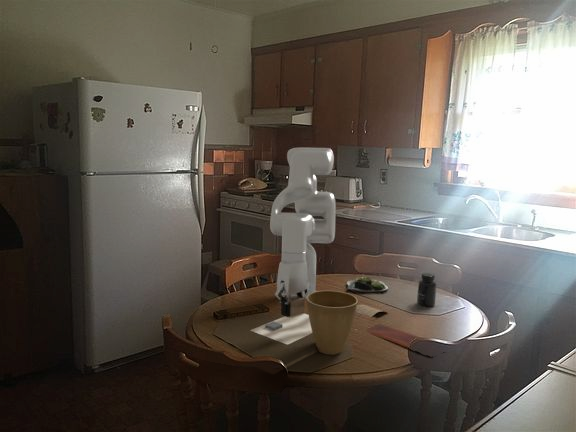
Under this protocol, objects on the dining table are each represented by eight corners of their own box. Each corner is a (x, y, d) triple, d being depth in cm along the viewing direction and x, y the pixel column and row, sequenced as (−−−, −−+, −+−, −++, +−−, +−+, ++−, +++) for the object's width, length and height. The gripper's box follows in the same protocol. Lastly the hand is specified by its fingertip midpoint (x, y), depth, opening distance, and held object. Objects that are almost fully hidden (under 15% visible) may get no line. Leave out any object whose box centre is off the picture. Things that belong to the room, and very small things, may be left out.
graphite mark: (265, 327, 153) (265, 324, 153) (273, 324, 156) (273, 321, 156) (274, 330, 150) (274, 327, 150) (282, 327, 153) (282, 324, 153)
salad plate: (340, 281, 212) (341, 271, 212) (379, 281, 213) (380, 271, 213) (348, 294, 193) (349, 284, 193) (391, 294, 194) (392, 283, 194)
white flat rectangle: (249, 333, 151) (249, 330, 150) (297, 314, 168) (297, 311, 168) (287, 348, 140) (287, 344, 140) (334, 326, 158) (334, 322, 158)
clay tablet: (367, 324, 162) (367, 316, 161) (344, 316, 169) (344, 309, 168) (390, 314, 172) (390, 307, 172) (367, 307, 179) (367, 300, 179)
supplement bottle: (415, 305, 180) (417, 275, 178) (418, 300, 186) (419, 271, 184) (434, 308, 177) (436, 277, 176) (436, 303, 184) (438, 273, 182)
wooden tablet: (450, 351, 141) (451, 346, 141) (431, 360, 135) (432, 355, 135) (381, 324, 162) (381, 320, 161) (361, 331, 155) (361, 326, 155)
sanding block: (281, 315, 145) (281, 299, 145) (294, 310, 150) (294, 295, 149) (291, 318, 143) (291, 302, 142) (303, 313, 147) (304, 298, 147)
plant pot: (297, 354, 136) (298, 301, 134) (315, 336, 149) (317, 287, 147) (347, 365, 130) (349, 309, 128) (361, 344, 144) (363, 294, 141)
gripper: (302, 250, 153) (300, 304, 155) (265, 259, 140) (264, 317, 142) (320, 254, 148) (319, 309, 150) (284, 263, 135) (283, 323, 137)
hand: (292, 312), depth 146 cm, fingers closed on sanding block, 6 cm apart
